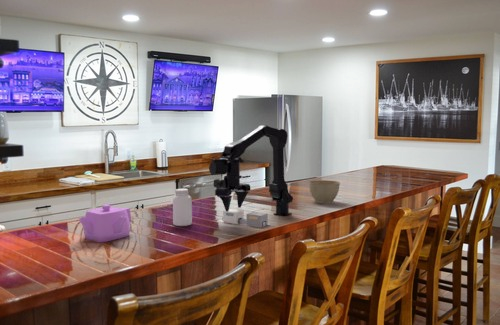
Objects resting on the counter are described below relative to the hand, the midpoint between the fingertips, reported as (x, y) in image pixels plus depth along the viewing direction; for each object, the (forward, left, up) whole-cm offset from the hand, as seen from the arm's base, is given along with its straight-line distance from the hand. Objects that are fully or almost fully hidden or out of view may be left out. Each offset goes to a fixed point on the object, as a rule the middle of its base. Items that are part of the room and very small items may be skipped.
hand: (233, 209), depth 210 cm
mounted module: (0, +12, -5) cm, 13 cm away
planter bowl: (-64, +13, -6) cm, 66 cm away
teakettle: (+47, -26, -6) cm, 54 cm away
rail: (0, +5, -6) cm, 8 cm away
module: (0, 0, -5) cm, 5 cm away
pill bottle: (+15, -16, -6) cm, 22 cm away
